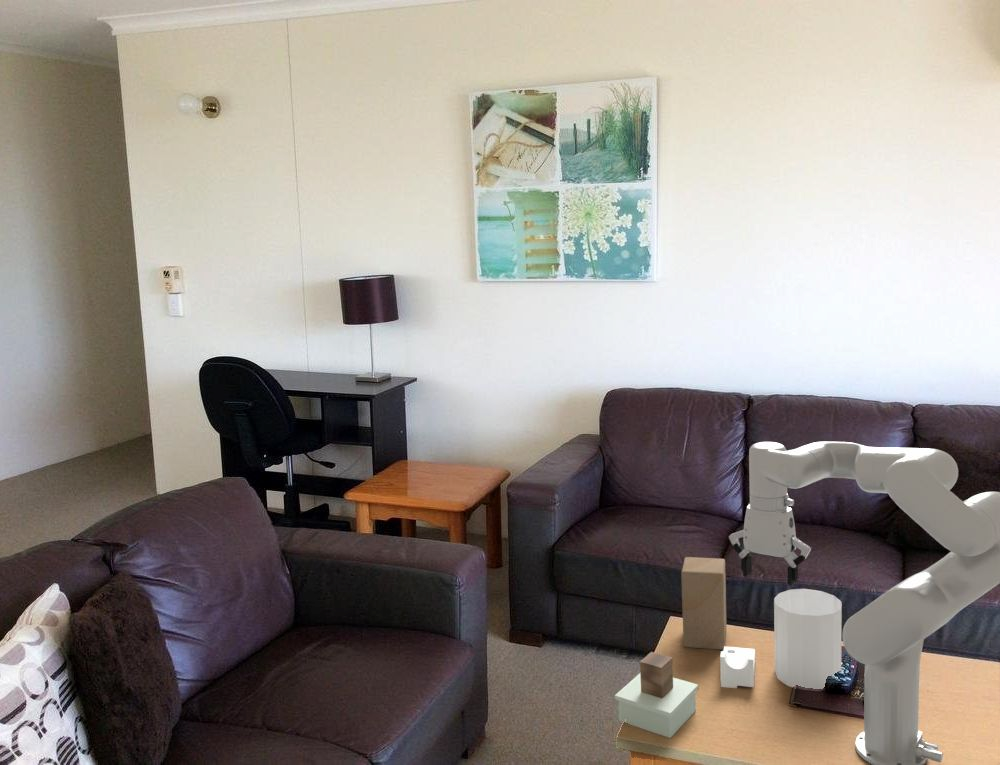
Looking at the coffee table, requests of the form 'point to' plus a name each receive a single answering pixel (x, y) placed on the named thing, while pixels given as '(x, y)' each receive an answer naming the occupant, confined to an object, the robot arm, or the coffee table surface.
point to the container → (807, 637)
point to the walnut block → (656, 675)
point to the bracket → (737, 667)
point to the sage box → (657, 706)
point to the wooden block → (704, 603)
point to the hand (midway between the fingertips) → (769, 578)
